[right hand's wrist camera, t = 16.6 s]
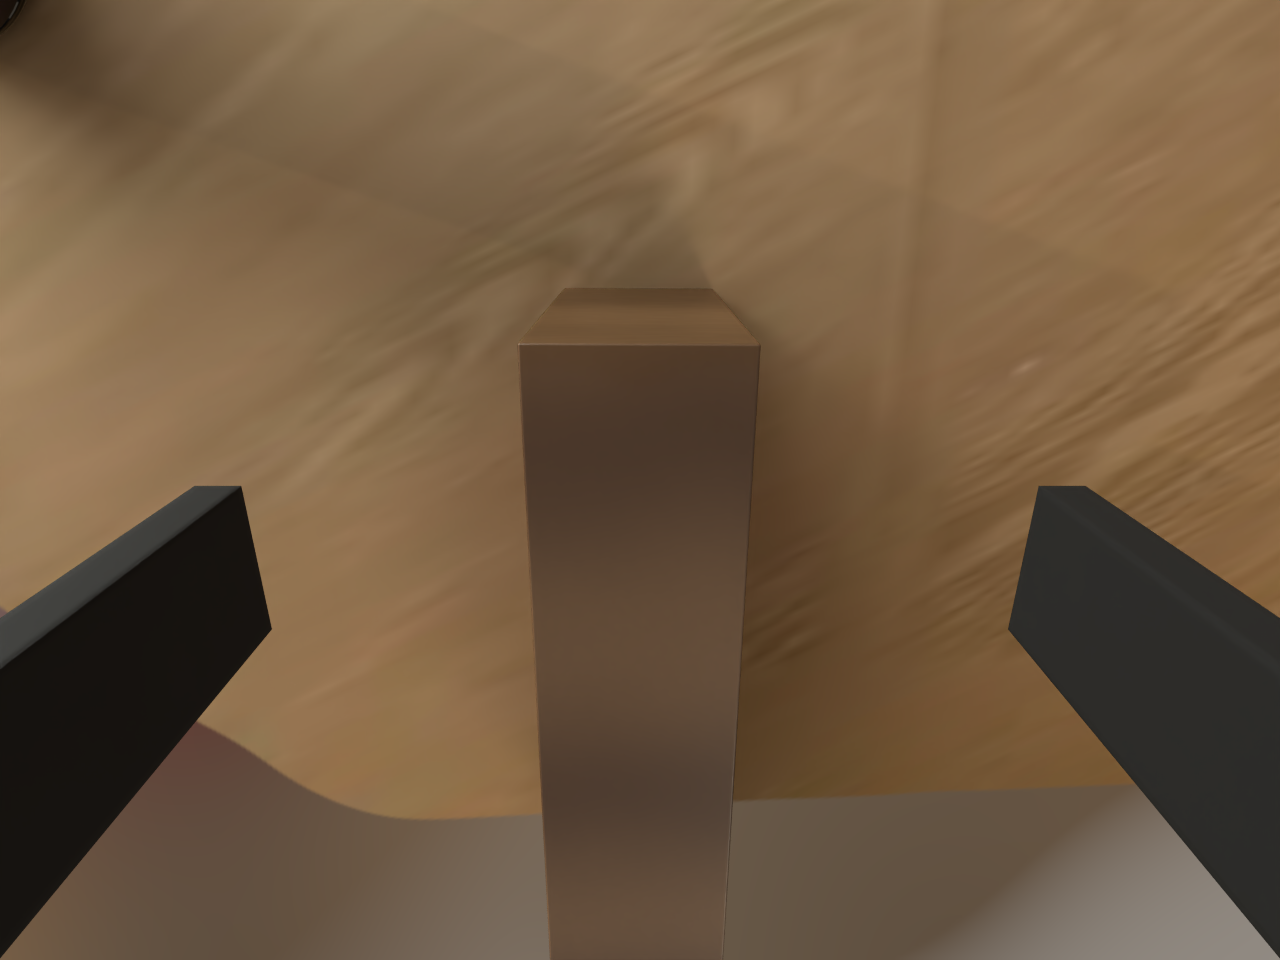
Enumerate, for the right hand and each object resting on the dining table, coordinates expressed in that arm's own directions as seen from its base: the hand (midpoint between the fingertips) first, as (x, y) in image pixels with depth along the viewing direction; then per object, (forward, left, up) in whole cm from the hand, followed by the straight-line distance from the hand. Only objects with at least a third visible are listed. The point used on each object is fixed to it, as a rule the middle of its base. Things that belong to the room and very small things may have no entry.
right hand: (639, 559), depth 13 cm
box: (+11, -2, -18) cm, 21 cm away
